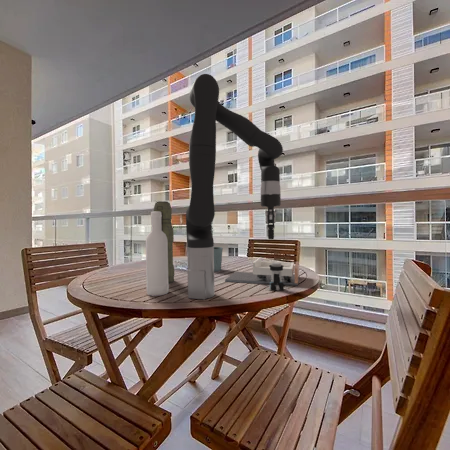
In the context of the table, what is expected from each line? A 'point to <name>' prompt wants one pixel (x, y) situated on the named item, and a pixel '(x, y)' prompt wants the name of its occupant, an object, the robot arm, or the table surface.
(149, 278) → the bottle
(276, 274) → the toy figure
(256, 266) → the cart
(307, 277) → the table surface
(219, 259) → the drinking glass
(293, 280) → the grey piece
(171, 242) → the thermos
